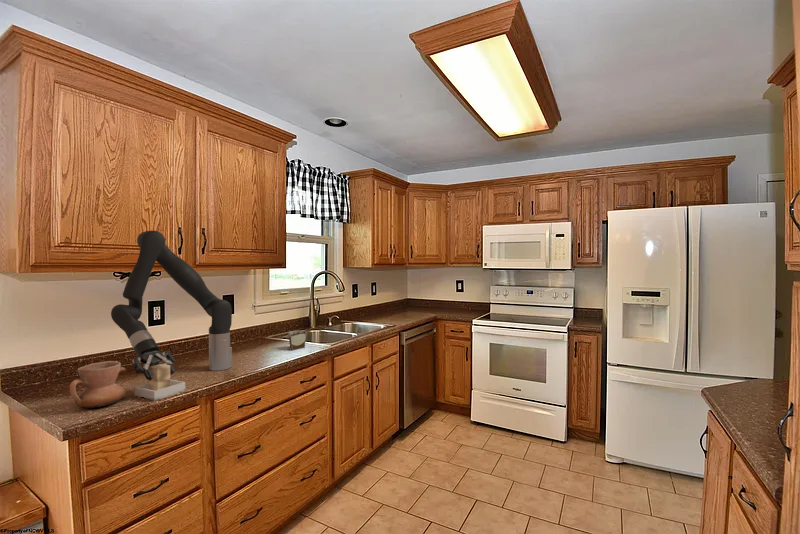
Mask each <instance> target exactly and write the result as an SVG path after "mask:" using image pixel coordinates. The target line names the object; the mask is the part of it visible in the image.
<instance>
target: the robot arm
mask: <svg viewBox="0 0 800 534" xmlns="http://www.w3.org/2000/svg"><path fill="white" fill-rule="evenodd" d="M136 243H137V246H138V247H139V249H140V250H139V255H138V258H137V260H136V263H135V264H134V267H133V268H132V271H131V272H130V274H129V277H128V278H127V281H126V283H125V286H124V289H123V291H122V297H123V298H124V299H126V300H128V304H122V303H121V304H117V305H115V306H113V307H112V309H111V311H110V316H111V320H112V321H113V322H114V323H115V324H116V325H117V326H118V328H120V329H121V330H122V331H123V332H124V333H125V335H126V337H127V338H128V340H129V342H130V345H131V347H132V349H133V350H134V353H135V354H136V356H135V357H133V359H132V360H131V364H132V366H133V368H134V371H135V373H136V374H143V375H144V377H145V379H146V380H148V381H149V382H150V380H152V378H153V376H152V374H151V372H150V370H149V367H151V366H155V365H159V364H166V365H170V376H171V375H174V374H175V371H176V368H175V367H174V366H173V365H174V364H175V362H176V359H175V357H174V356H173V355H172V353H171V351H170V350H168V349H167V350H165V351H164V352H162V351H160V347H159V346H158V344H157V342H156V341H155V338H154V337H153V335H152V334H151V333H150V331H149V330H148V328H147V326H146V325H145V323H144V322H143V321H141V320H139V319H140V318H141V316H142V314H143V313H142V312H143V298H144V297H143V296H144V293H145V291H146V288H147V285H148V282H149V279H150V277H151V273H152V270H153V269H154V266H155V264H156V262H157V264H159V265H160V267H161V268H162V269H163V270H164V271H165V272H166V273H167V274H168V275H169V276H170V278H171V279H172V280H173V281H174V282H175V283H176V284H177V285H178V286H180V288H181V289H183V290H184V291H185V292H186V293H187V294H188V295H190V296H191V297H192V298H193V299H194V300H195V301H196V302H197V303H198V304H199V305H200V306H201V308H202V309H203V310H204V311H205V313H206V314H207V315H208V316H209V317H211V325H210V326H209V327H208V370H210V371H212V372H213V371H214V372H215V371H216V372H217V371H224V370H229V369H230V368H231V367H233V348H232V346H231V327H232V319H233V318H232V317H233V316H232V315H233V314H232V313H233V310H232V305H231V303H230V301H228V300H225V299H221V298H219V297H217V296H216V295H215V294H214V293H213V292H212V291H210V289H209V288H208V287H207V285H206V283H205V281H204V280H203V278H202V276H201V275H200V274H199V273H198V272H197V270H195V269H194V268H193V266H192V265H190V264H189V263H188V262H186V261H185V260H183V259H182V258H181V257H180V256H178V255H176V254H175V253H174V252H173V251H172V250H171V249H170V248H169V247H168V245H167V244H166V238H165V236H164V234H162V232H160V231H158V230H146V231H142V232H141V233H140V234H138V236H137V238H136ZM141 363H143V366H142V364H141Z"/></svg>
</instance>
